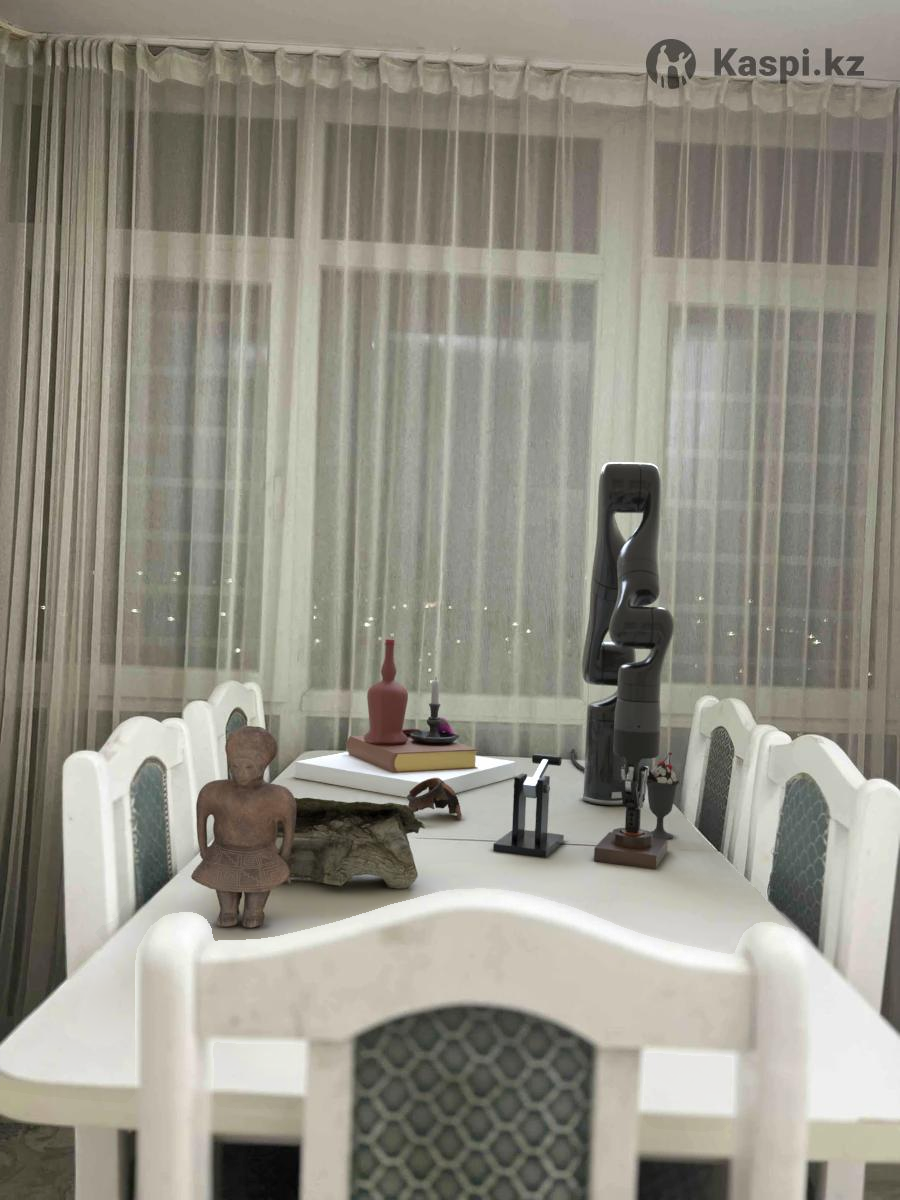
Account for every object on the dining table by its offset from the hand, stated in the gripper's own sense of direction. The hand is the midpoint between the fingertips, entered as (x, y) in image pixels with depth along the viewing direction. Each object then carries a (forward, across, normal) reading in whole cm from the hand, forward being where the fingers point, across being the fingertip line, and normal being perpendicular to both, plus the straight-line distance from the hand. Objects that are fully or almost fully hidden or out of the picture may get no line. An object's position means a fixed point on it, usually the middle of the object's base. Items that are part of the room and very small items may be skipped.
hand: (632, 831), depth 174 cm
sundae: (+4, +17, -2) cm, 18 cm away
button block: (+4, 0, 0) cm, 4 cm away
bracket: (+4, -2, +17) cm, 18 cm away
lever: (-6, +3, +17) cm, 18 cm away
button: (+2, 0, 0) cm, 2 cm away
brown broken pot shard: (+4, +11, +39) cm, 41 cm away
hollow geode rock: (+4, -36, +38) cm, 52 cm away
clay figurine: (+4, -58, +39) cm, 70 cm away
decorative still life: (+4, +46, +58) cm, 74 cm away
